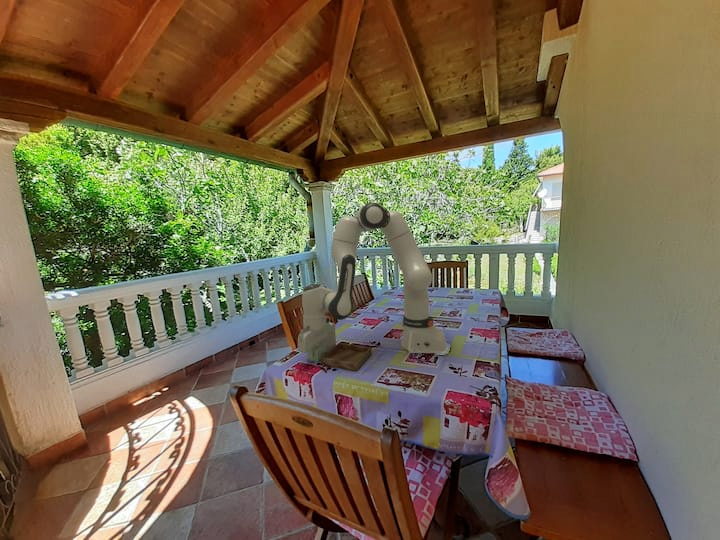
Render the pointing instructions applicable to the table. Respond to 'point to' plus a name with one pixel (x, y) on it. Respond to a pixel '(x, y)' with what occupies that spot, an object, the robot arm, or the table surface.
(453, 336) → the table surface
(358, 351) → the walnut tray
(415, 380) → the table surface
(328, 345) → the skincare box
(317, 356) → the sage block
